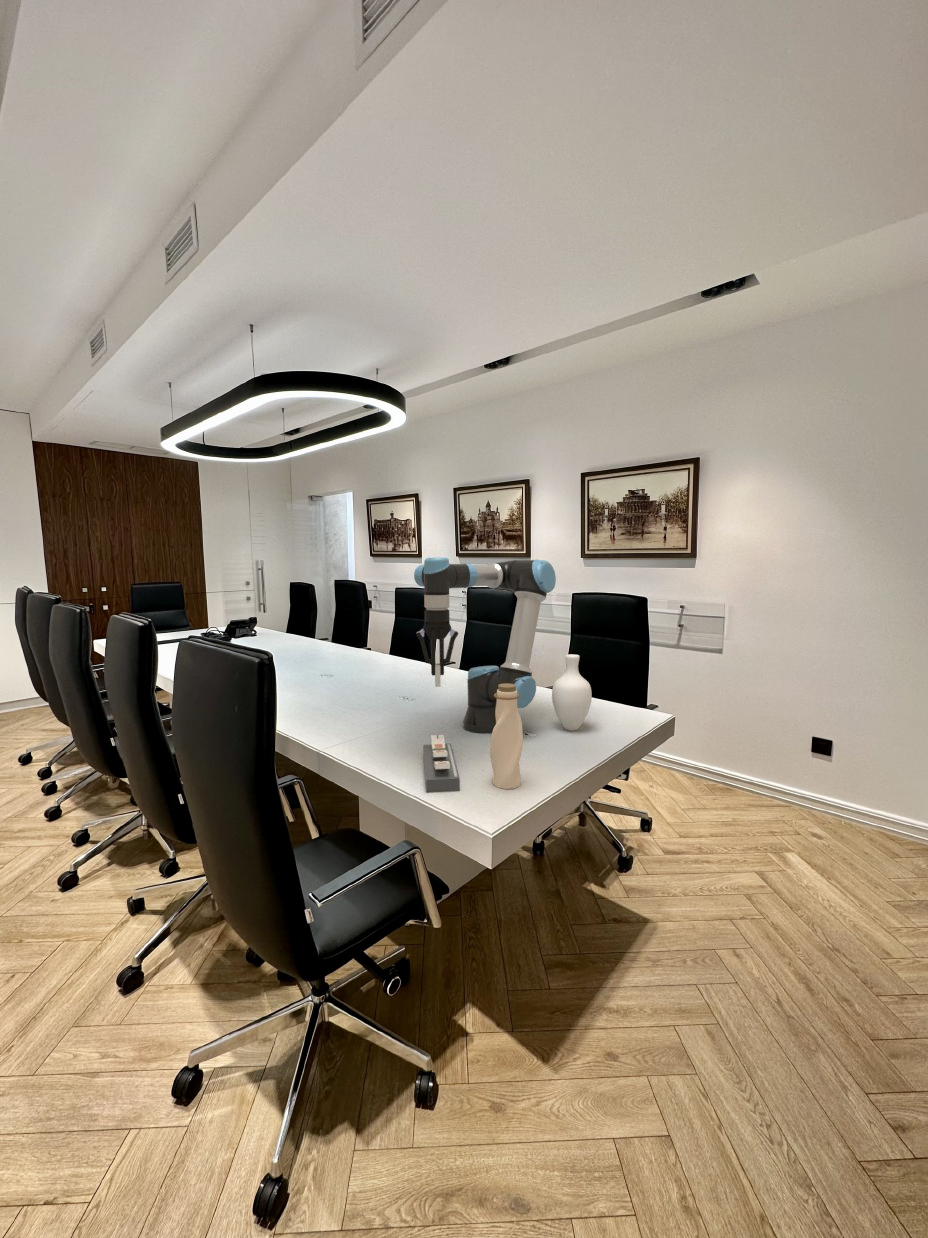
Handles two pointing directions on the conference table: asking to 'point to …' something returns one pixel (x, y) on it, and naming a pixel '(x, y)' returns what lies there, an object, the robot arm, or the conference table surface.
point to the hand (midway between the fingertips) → (437, 685)
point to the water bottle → (506, 739)
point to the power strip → (440, 771)
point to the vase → (571, 695)
